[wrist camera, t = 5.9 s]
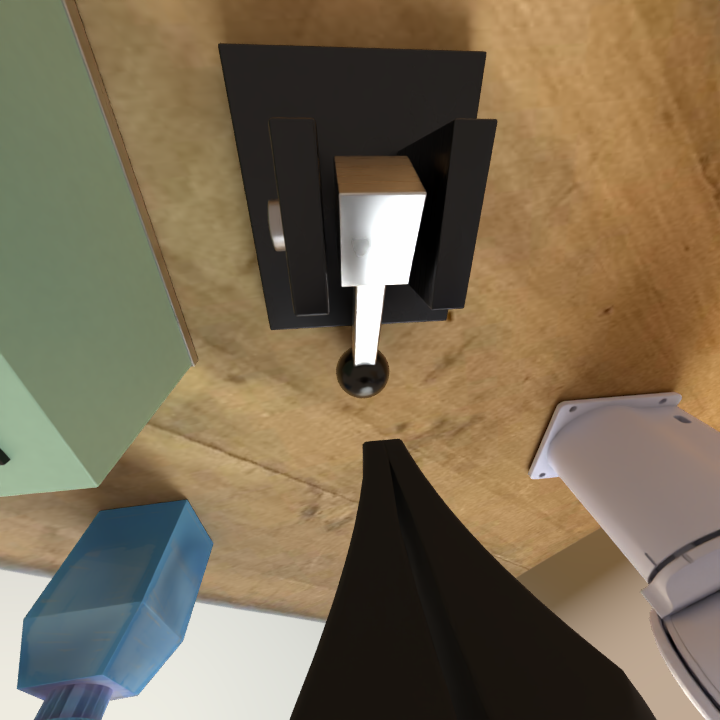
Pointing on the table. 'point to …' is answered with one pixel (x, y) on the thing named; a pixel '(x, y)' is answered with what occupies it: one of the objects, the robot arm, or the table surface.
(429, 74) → the switch bracket
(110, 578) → the perfume bottle
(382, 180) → the switch lever
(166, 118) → the table surface
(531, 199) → the table surface
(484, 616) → the robot arm
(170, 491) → the table surface
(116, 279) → the toaster body
